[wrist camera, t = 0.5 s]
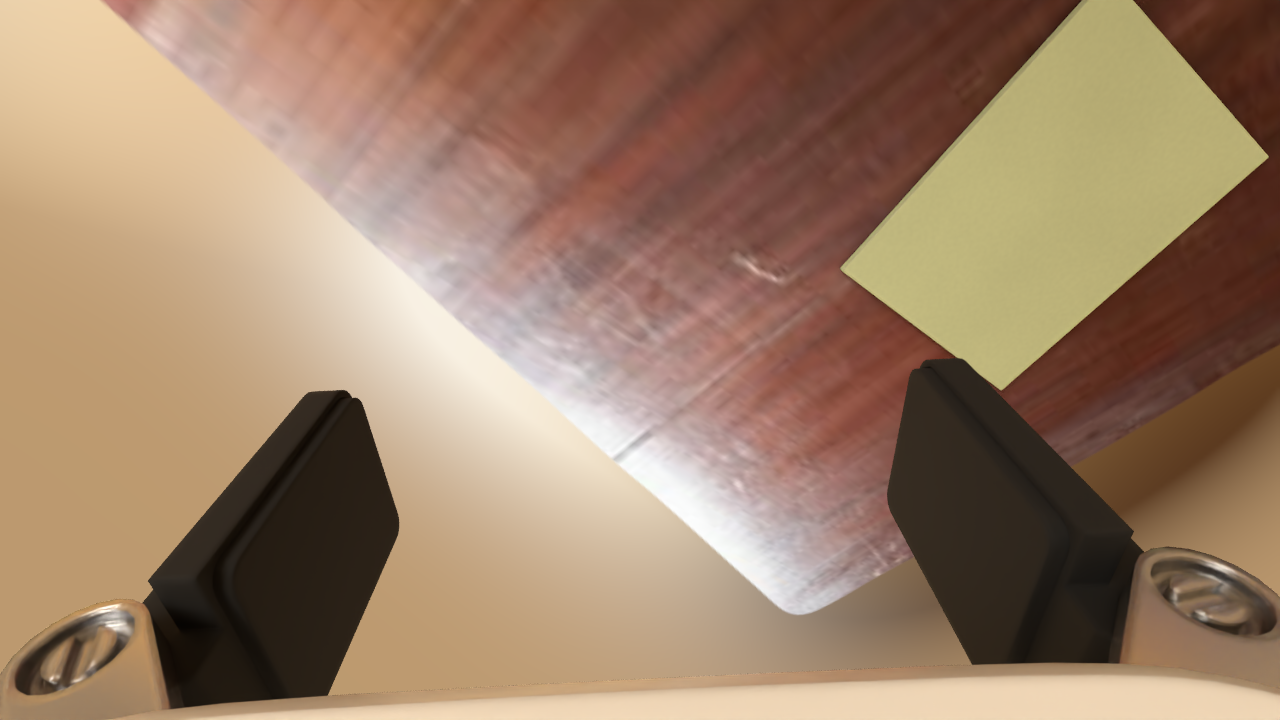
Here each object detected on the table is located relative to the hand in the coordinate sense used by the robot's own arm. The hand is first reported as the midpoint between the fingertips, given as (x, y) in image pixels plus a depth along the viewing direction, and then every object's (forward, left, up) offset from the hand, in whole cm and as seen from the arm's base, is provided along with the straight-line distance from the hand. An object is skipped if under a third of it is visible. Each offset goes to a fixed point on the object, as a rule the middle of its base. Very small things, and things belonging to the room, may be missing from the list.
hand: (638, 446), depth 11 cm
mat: (-12, +24, -29) cm, 39 cm away
